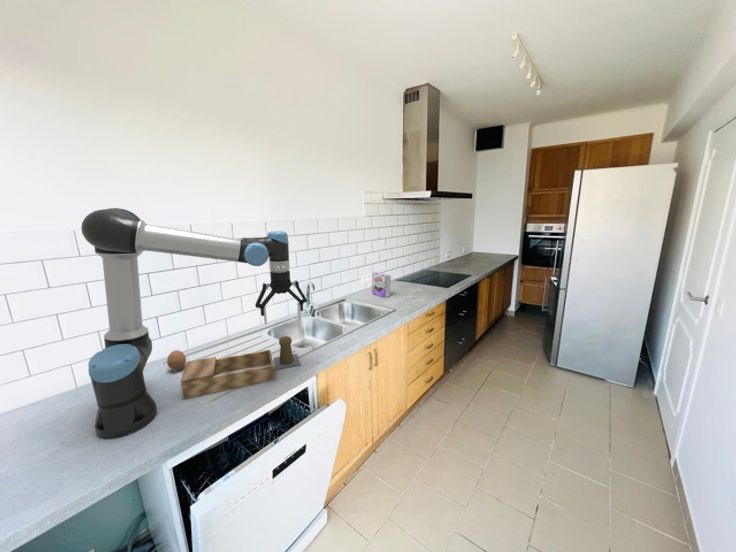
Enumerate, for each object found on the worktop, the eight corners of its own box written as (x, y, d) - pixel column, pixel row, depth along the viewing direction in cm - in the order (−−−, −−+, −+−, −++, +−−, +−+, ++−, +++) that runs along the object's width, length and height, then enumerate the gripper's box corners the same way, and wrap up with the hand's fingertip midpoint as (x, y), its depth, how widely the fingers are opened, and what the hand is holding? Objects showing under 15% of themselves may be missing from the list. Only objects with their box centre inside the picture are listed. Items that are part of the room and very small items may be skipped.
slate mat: (276, 370, 121) (276, 369, 121) (273, 358, 130) (273, 357, 130) (300, 365, 125) (300, 364, 125) (296, 354, 134) (296, 353, 134)
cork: (290, 365, 124) (288, 341, 121) (276, 364, 125) (274, 340, 123) (296, 358, 130) (294, 335, 127) (283, 356, 131) (281, 333, 128)
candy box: (371, 293, 222) (371, 272, 218) (377, 292, 226) (377, 271, 222) (384, 298, 212) (385, 275, 208) (390, 296, 216) (391, 274, 212)
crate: (183, 398, 104) (180, 380, 102) (189, 377, 116) (186, 361, 114) (274, 379, 115) (273, 363, 114) (271, 362, 127) (270, 347, 126)
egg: (189, 363, 126) (186, 346, 124) (185, 372, 120) (182, 353, 118) (171, 366, 124) (168, 348, 122) (166, 374, 118) (163, 355, 116)
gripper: (246, 275, 110) (250, 328, 115) (313, 270, 119) (314, 319, 124) (245, 270, 117) (250, 321, 122) (309, 266, 126) (311, 313, 131)
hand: (282, 320), depth 123 cm, fingers open, 13 cm apart
